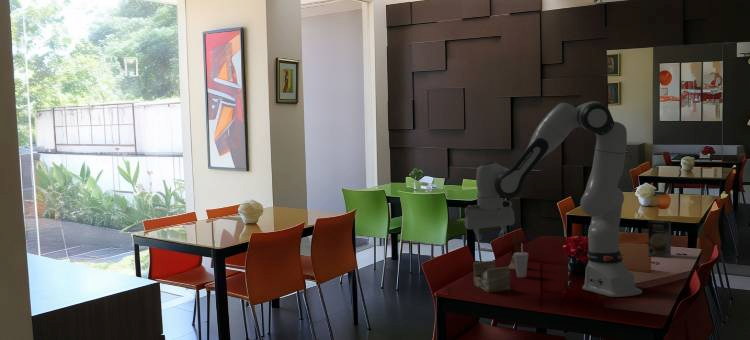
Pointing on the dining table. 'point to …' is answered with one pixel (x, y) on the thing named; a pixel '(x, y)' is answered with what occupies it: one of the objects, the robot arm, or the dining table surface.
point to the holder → (491, 276)
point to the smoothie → (521, 262)
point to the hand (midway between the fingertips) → (490, 238)
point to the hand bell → (516, 243)
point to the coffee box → (659, 238)
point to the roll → (484, 275)
